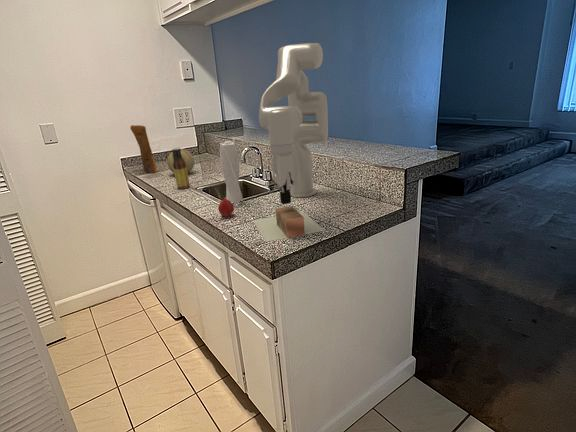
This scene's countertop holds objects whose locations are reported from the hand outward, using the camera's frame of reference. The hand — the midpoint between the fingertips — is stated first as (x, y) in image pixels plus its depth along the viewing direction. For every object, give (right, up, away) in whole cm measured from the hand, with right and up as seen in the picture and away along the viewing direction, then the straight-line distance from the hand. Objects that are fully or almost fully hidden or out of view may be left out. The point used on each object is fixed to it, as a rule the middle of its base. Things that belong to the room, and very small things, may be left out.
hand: (285, 202), depth 122 cm
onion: (-23, -5, +16) cm, 28 cm away
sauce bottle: (-52, +10, +59) cm, 79 cm away
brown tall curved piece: (-85, +23, +99) cm, 132 cm away
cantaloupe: (-60, +19, +86) cm, 107 cm away
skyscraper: (-22, +1, +32) cm, 39 cm away
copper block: (-1, -4, +5) cm, 6 cm away
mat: (0, -8, +4) cm, 9 cm away
